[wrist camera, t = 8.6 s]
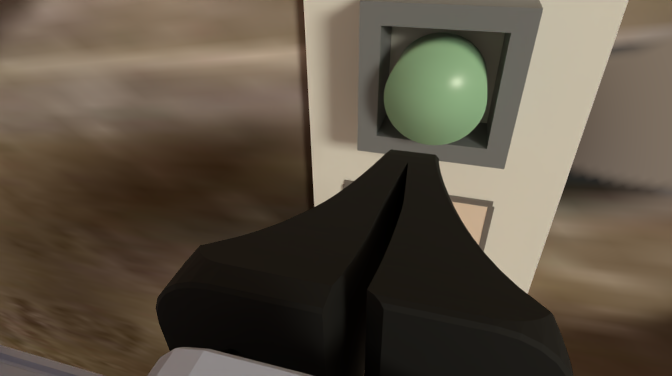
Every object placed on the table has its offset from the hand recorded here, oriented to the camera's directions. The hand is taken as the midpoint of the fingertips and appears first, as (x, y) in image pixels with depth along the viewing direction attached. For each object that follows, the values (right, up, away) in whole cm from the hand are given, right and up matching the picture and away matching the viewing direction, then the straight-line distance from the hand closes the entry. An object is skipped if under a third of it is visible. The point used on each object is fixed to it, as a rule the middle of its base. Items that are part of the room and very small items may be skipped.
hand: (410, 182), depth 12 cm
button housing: (+2, +5, +6) cm, 8 cm away
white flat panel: (+3, -2, +11) cm, 12 cm away
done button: (+2, +4, +5) cm, 7 cm away
